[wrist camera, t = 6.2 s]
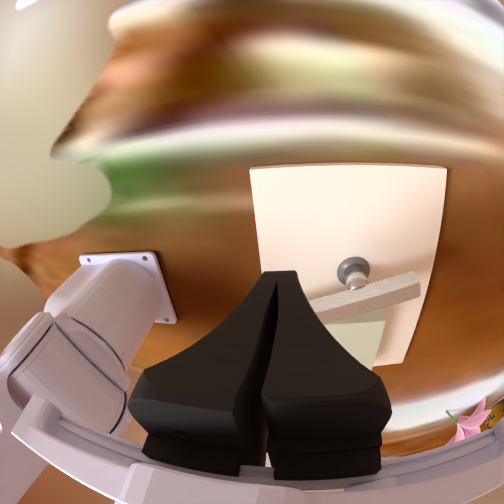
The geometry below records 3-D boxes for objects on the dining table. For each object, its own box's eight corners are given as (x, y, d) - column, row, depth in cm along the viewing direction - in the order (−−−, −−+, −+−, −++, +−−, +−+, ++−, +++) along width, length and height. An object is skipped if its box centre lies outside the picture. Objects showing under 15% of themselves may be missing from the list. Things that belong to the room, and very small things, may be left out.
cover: (317, 358, 25) (317, 378, 23) (320, 303, 22) (322, 324, 20) (366, 355, 24) (370, 374, 22) (378, 300, 21) (385, 320, 19)
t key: (403, 266, 19) (420, 298, 15) (259, 306, 22) (252, 341, 19) (401, 249, 18) (420, 279, 15) (252, 291, 22) (243, 326, 18)
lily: (429, 427, 36) (453, 456, 28) (417, 437, 29) (447, 473, 22) (472, 383, 34) (499, 411, 26) (471, 383, 27) (504, 418, 20)
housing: (273, 363, 28) (272, 371, 27) (251, 167, 18) (249, 170, 17) (400, 356, 25) (402, 363, 24) (440, 165, 16) (447, 169, 15)
